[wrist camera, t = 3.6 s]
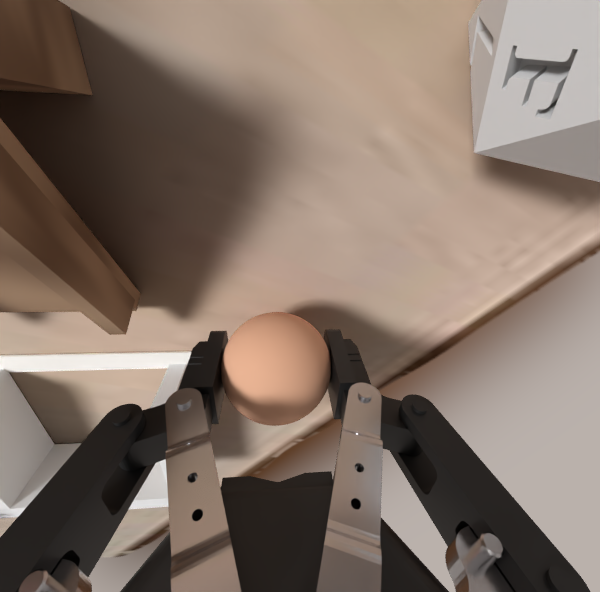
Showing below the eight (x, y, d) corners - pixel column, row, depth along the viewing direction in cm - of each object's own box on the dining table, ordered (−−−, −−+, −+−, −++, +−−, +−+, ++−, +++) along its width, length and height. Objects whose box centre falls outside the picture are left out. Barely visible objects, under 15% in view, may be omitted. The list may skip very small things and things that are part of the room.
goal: (-14, 367, 16) (-90, 430, 13) (186, 362, 18) (165, 419, 14) (45, 453, 21) (-1, 518, 17) (204, 445, 22) (191, 504, 18)
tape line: (-30, 355, 16) (-32, 357, 16) (191, 351, 17) (190, 352, 17) (-19, 371, 17) (-21, 372, 17) (194, 365, 18) (193, 367, 18)
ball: (224, 292, 14) (203, 367, 10) (326, 292, 14) (349, 363, 10) (232, 367, 16) (218, 453, 12) (318, 365, 17) (334, 447, 13)
